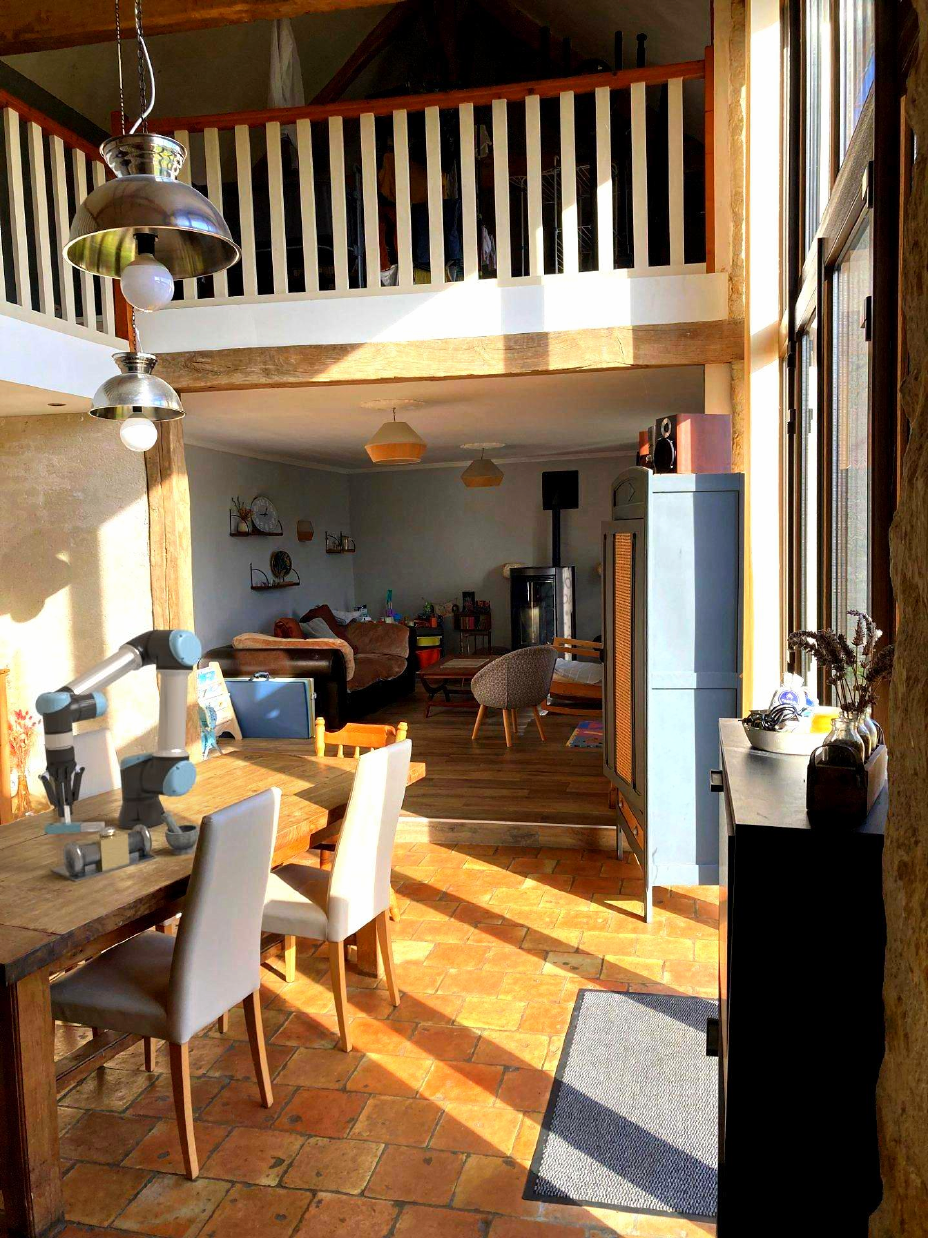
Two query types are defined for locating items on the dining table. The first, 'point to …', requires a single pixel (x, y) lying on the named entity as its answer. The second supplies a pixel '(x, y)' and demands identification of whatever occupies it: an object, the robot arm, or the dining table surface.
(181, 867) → the dining table surface
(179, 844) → the mortar and pestle
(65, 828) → the lever
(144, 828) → the valve body
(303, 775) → the dining table surface
